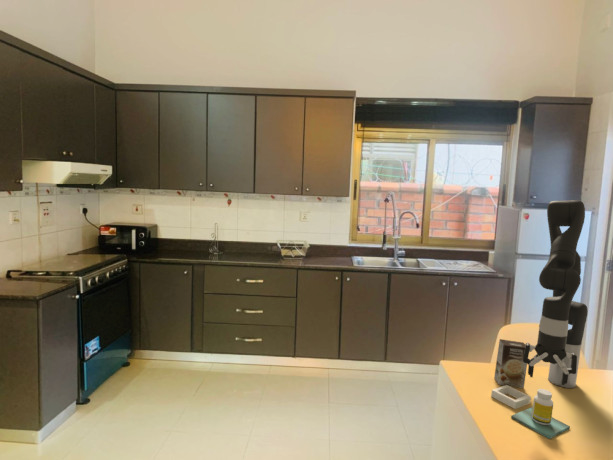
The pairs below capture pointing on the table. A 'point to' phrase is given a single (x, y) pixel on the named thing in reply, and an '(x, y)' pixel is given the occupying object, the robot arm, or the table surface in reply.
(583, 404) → the table surface
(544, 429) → the teal board
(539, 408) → the supplement bottle
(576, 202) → the robot arm
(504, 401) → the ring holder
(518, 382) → the coffee box
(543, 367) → the table surface
